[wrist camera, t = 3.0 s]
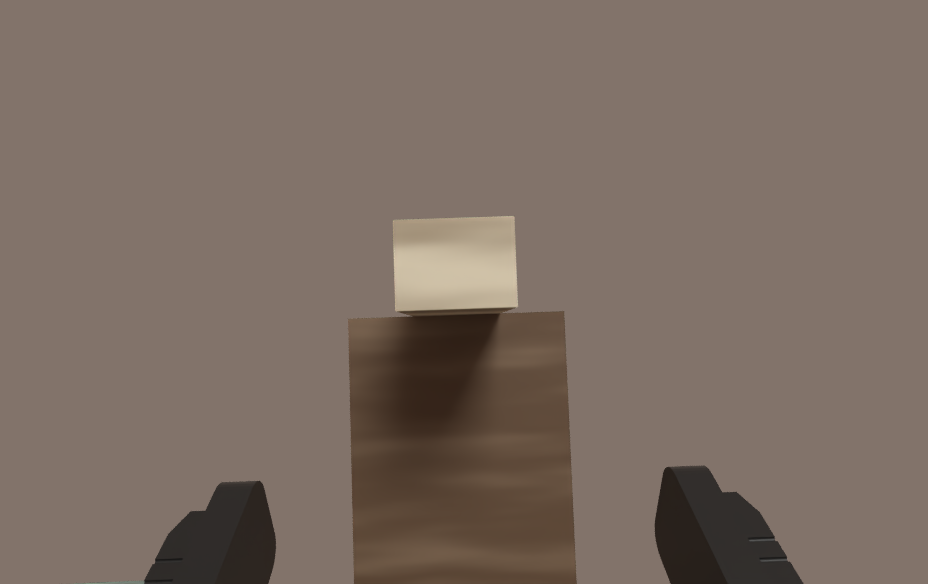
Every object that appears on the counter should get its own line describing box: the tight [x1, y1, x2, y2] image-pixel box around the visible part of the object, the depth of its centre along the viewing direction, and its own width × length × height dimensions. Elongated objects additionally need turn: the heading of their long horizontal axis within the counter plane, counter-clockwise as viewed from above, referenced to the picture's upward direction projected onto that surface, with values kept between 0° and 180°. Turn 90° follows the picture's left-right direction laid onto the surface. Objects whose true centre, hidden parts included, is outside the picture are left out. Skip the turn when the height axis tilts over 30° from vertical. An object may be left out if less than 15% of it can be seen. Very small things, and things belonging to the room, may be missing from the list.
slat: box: [393, 216, 518, 317], centre depth 30 cm, size 22×4×3 cm, turn 1°
